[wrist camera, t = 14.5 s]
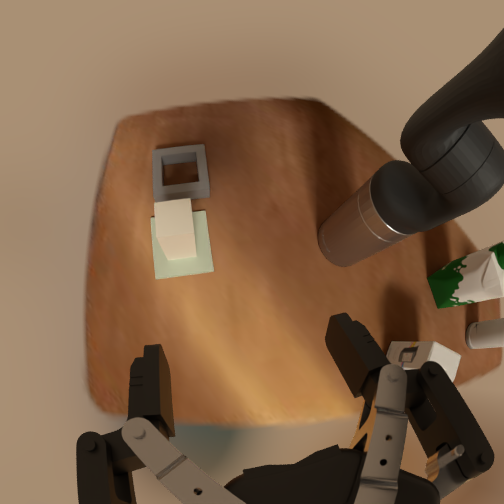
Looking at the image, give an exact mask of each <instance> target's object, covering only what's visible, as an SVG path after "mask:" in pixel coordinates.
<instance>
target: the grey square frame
mask: <svg viewBox="0 0 504 504" xmlns="http://www.w3.org/2000/svg"><path fill="white" fill-rule="evenodd" d="M194 161H196V163H197V172H198V181H199V182H192V183H184V184H176V185H168V186H164V177H163V165H169V164H177V163H186V162H194ZM152 163H153V196H154V199H155V202H163V201H171V200H179V199H187V198H190V199H199V198H207V197H210V186H209V178H208V170H207V163H206V155H205V147H204V144H199V145H189V146H180V147H172V148H164V149H157V150H152Z"/></svg>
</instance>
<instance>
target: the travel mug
mask: <svg viewBox="0 0 504 504" xmlns="http://www.w3.org/2000/svg"><path fill="white" fill-rule="evenodd" d="M466 343H467V346H468V347H469V348H470V349H476V348H493V347H504V318H501V319H495V320H488V321H482V322H475V323H471V324H470V325H469V326H468V328H467V331H466Z"/></svg>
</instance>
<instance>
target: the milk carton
mask: <svg viewBox="0 0 504 504" xmlns="http://www.w3.org/2000/svg"><path fill="white" fill-rule="evenodd" d="M427 279H428V282H429V285H430V288H431V290H432V293H433V296H434V299H435V302H436V305H437V308H438V309H439V308H446V307H453V306H460V305H465V304H470V303H475V302H480V301H484V300H489V299H494V298H501V297H504V241H502V242H499V243H497V244H495V245H492V246H490V247H487V248H484V249H482V250H479V251H477V252H474V253H472V254H469V255H467V256H464V257H461V258H459V259H456V260H454V261H452V262H450V263H448V264H447V265H445V266H443V267H442V268H441V269H439V270H438V271H437V272H435V273H434V274H432V275H431V276H429V277H428V278H427Z"/></svg>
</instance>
